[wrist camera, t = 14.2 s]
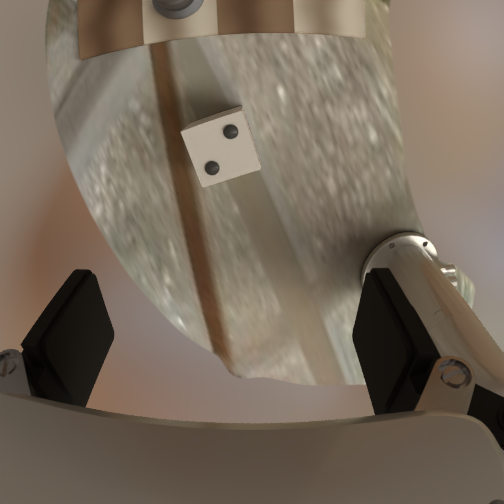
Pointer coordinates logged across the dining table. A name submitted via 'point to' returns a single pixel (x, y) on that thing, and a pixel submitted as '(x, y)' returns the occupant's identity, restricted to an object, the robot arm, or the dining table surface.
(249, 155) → the die
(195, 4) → the pawn
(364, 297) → the robot arm
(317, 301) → the dining table surface
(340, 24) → the game board
